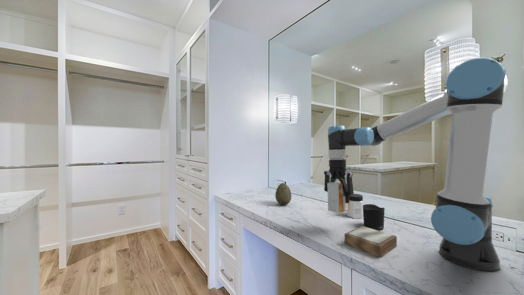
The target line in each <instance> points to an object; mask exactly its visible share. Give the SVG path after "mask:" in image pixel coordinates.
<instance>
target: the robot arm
mask: <svg viewBox="0 0 524 295" xmlns="http://www.w3.org/2000/svg"><path fill="white" fill-rule="evenodd" d="M508 83H509V80H508V75H507V74H506V68H505V67H504V65H503V64H502V63H500V61H497V60H495V59H493V58H490V57H475V58H471V59H467V60H464V61H463V62H461V63H458V65H456V66H455V67H454V68H453V69H452V70H450V72H449V73H448V74H447V77H446V78H445V90H444V93H442V94H440V95H439V96H437V97H434V98H433V99H430V100H428V101H426V102H424V103H422V104H420V105H418V106H415V107H413V108H411V109H409V110H407V111H405V112H403V113H401V114H399V115H398V114H397V115H396V116H395V117H393V118H390V119H388V120H386V121H384V122H382V123H380V124H377V125H375V126H373V127H368V126H367V127H363V126H362V127H357V128H350V129H349V128H348V129H347V128H346V127H345V125H331V126H329V127H328V128H327V129H328V131H327V132H328V133H327V140H328V141H327V142H328V167H329V169H328V170H324V172H323V174H324V185H323V188H324V189H323V191H324V192H326V193H328V189H327V183H331V182H337V179H338V181H340V182H341V184H343V192H344V196H343V210H344V211H345V210H348V203H349V202H350V200H349V196H350V195H353V194H355V193H354V185H353V172H349V171H347V169H346V168H347V160H346V156H347V154H346V152H347V151H346V147H348V146H349V147H350V146H354V147H355V146H357V147H358V146H362V147H363V146H372V147H375V146H378V145H380V144H382V143H383V142H384V141H387V140H389V139H391V138H394V137H397V136H399V135H401V134H405V133H406V132H409V131H412V130H413V129H417V128H420V127H421V126H423V125H426V124H428V123H431V122H434V121H436V120H439V119H440V118H443V117H446V116H448V115H451V114H452V115H451V125H450V132H449V133H450V134H449V144H448V153H447V161H446V168H445V169H446V170H445V180H444V185H443V186H444V188H443V189H441V190H439V191H438V192H437V194H436V202H435V204H436V205H435V208H434V209H433V211H432V213H431V217H430V222H431V225H432V228H433V229H434V230H435V231H436V232H437V234H438V235H439V236H440V237H441V238H442V239H441V241H440V243H439V246H438V247H439V249H438V250H439V254H440V255H441V256H442V257H443V258H445V259H446V260H448V261H450V262H452V263H455V264H456V265H459V266H463V267H465V268H470V269H473V270H477V271H485V272H495V271H499V270H500V269H501V261H500V260H501V259H500V258H499V255H498V252H497V250H496V248H495V246H494V244H493V239H492V237H493V232H492V231H493V228H492V227H493V226H492V225H493V218H492V216H493V215H492V213H493V207H494V206H493V203H492V197H490V196H487V195H483V194H484V185H485V180H486V179H485V178H486V171H487V163H488V154H489V147H490V146H489V145H490V141H491V140H490V139H491V132H492V131H491V130H492V123H493V117H494V116H493V114H494V113H495V112H496V111H497V110H499V109H501V108H502V106H503V100H504V93H505V91H506V89H507V88H508V85H509V84H508ZM346 182H347V184H346ZM345 212H346V211H345Z"/></svg>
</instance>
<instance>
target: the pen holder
mask: <svg viewBox="0 0 524 295" xmlns="http://www.w3.org/2000/svg"><path fill="white" fill-rule="evenodd" d="M362 219H363V226H364V227H368V228H371V229H374V230H378V231H382V230H383V229H384V228H385V207H379V206H378V205H376V204H370V203H368V204H366V203H365V204H363V217H362Z"/></svg>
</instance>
